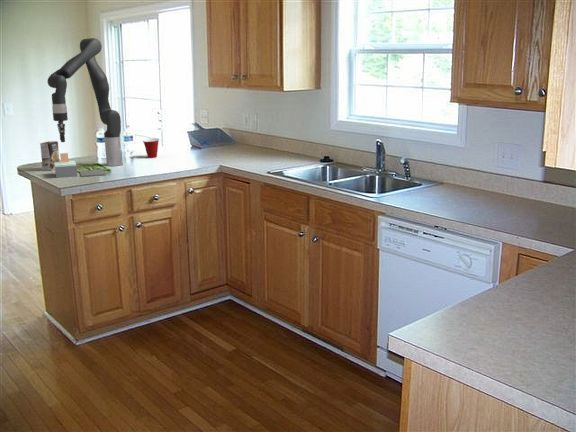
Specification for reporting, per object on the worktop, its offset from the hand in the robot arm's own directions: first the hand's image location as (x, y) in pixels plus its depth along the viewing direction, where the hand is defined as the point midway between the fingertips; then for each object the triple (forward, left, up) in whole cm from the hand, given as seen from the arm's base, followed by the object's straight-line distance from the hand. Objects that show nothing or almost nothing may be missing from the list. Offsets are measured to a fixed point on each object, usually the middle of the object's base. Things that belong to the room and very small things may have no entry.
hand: (62, 141), depth 346 cm
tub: (0, +3, -19) cm, 19 cm away
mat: (-14, +6, -19) cm, 24 cm away
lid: (0, +4, -14) cm, 14 cm away
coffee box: (+7, -18, -19) cm, 27 cm away
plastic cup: (-55, -37, -19) cm, 69 cm away
